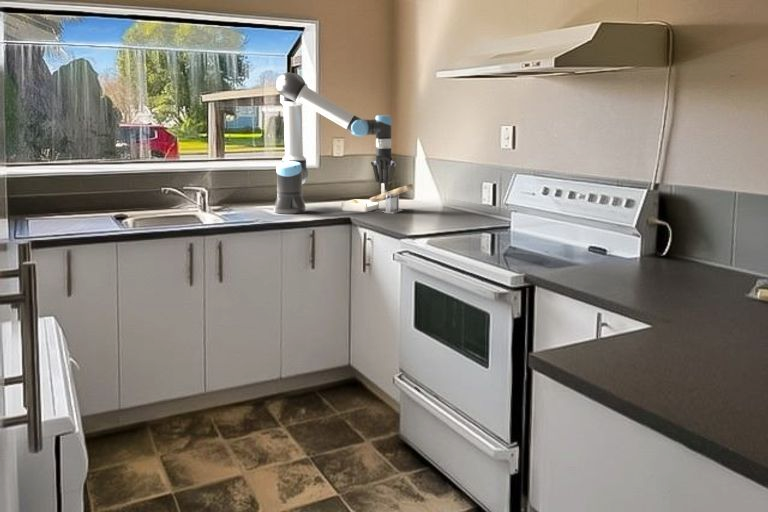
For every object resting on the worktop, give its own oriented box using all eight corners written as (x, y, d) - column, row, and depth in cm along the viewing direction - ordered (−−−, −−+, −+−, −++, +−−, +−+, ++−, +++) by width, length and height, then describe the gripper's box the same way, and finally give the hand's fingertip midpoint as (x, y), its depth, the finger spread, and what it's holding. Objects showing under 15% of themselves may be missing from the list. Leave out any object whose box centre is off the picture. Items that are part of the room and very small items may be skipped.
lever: (370, 203, 355) (368, 198, 355) (382, 200, 367) (380, 195, 367) (407, 190, 346) (406, 185, 345) (418, 187, 358) (417, 182, 358)
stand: (381, 212, 351) (381, 193, 349) (391, 209, 361) (391, 191, 359) (393, 213, 349) (393, 193, 347) (402, 210, 359) (402, 191, 357)
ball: (348, 202, 362) (354, 200, 360) (351, 201, 365) (357, 199, 363) (350, 209, 362) (356, 207, 360) (353, 208, 365) (359, 206, 364)
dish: (341, 210, 358) (341, 202, 357) (354, 207, 371) (354, 199, 370) (366, 212, 353) (366, 203, 352) (378, 208, 365) (378, 200, 365)
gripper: (368, 147, 358) (368, 196, 362) (392, 148, 353) (393, 197, 357) (374, 147, 365) (374, 195, 369) (399, 147, 359) (399, 196, 364)
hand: (383, 196), depth 363 cm, fingers closed
